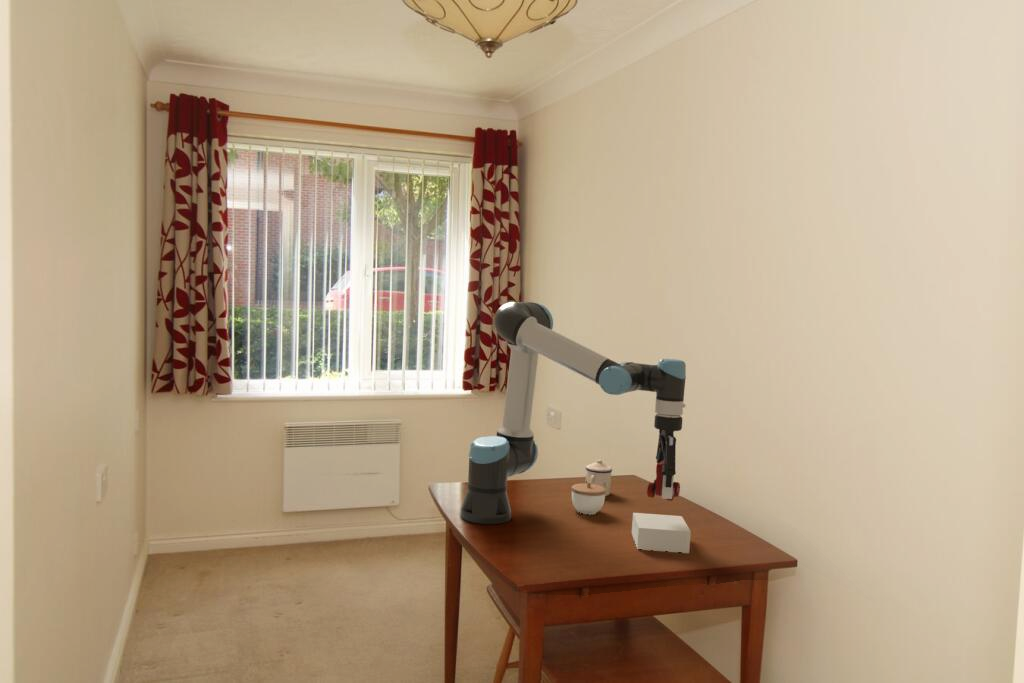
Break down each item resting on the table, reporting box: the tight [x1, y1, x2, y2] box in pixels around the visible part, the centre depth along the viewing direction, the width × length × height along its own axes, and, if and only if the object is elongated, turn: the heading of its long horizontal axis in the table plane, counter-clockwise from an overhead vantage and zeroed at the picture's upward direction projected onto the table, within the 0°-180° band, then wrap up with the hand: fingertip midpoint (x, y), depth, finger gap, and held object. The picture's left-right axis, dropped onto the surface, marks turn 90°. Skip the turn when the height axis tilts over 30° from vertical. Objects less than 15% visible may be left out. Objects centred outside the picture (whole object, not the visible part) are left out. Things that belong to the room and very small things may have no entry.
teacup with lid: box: [584, 459, 613, 497], centre depth 257 cm, size 12×9×12 cm
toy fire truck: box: [646, 460, 681, 502], centre depth 208 cm, size 7×12×10 cm, turn 153°
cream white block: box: [631, 512, 692, 554], centre depth 210 cm, size 14×14×6 cm
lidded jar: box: [571, 482, 606, 516], centre depth 235 cm, size 11×11×9 cm
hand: (663, 492), depth 209 cm, fingers closed on toy fire truck, 11 cm apart
